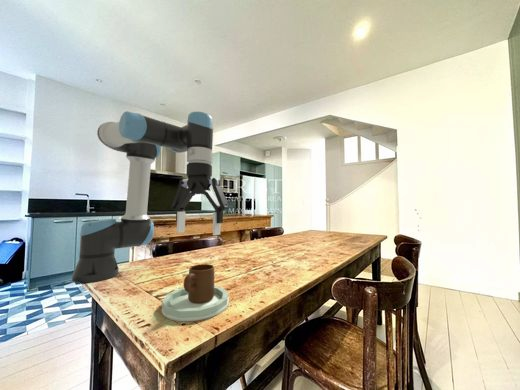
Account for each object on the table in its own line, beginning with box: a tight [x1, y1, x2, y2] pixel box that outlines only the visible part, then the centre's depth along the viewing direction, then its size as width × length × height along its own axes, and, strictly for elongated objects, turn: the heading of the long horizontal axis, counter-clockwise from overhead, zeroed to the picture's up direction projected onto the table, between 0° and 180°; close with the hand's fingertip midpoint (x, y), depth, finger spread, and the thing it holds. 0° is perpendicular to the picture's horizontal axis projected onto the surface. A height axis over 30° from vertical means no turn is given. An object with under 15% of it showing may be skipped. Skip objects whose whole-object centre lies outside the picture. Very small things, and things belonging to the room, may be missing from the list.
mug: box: [183, 263, 215, 303], centre depth 63 cm, size 12×8×9 cm, turn 163°
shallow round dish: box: [161, 285, 230, 323], centre depth 63 cm, size 19×19×2 cm
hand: (197, 233), depth 64 cm, fingers open, 13 cm apart
